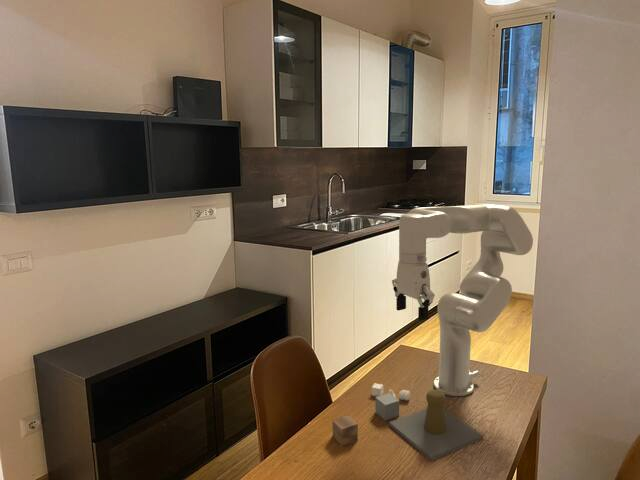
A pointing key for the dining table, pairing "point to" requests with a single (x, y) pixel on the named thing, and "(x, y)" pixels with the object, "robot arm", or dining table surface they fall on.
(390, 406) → the slate-grey block
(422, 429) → the mat
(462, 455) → the dining table surface
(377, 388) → the game pieces
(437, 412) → the olive lobed rounded piece
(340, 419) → the walnut block
